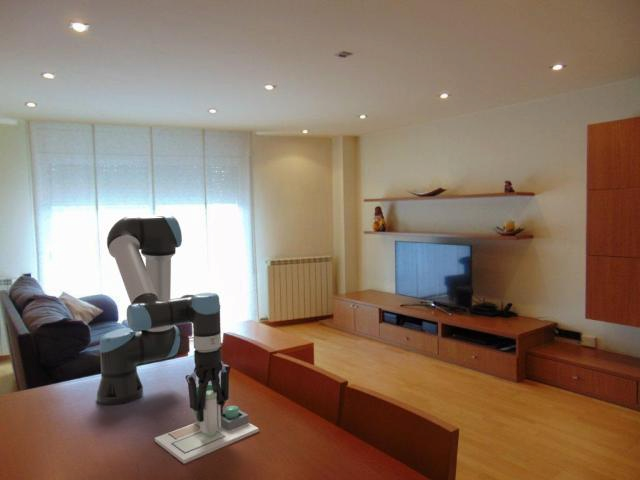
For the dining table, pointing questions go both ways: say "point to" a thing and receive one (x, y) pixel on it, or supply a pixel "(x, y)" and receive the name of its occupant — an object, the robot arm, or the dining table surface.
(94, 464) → the dining table surface
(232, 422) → the board
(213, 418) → the marker
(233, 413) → the button
